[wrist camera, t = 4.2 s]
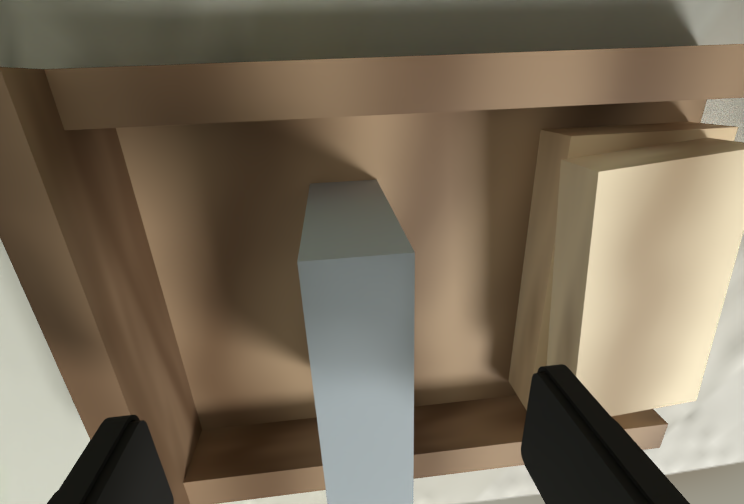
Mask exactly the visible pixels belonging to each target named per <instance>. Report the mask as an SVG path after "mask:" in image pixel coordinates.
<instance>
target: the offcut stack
mask: <svg viewBox="0 0 744 504" xmlns="http://www.w3.org/2000/svg"><path fill="white" fill-rule="evenodd" d="M737 129H738V127H733V126H724V125H714V124H705V123H696V122H675V123H657V124H638V125H619V126H600V127H582V128H563V129H544V130H541V131H540V139H539V146H538V154H537V162H536V170H535V178H534V185H533V193H532V201H531V209H530V217H529V224H528V232H527V240H526V248H525V255H524V263H523V271H522V279H521V287H520V294H519V302H518V310H517V318H516V326H515V333H514V341H513V349H512V357H511V365H510V372H509V380H508V381H509V383H510V384H511V386H512V387H513V389H514V391H515V392H516V394H517V396H518V397H519V399H520V401H521V402H522V404H523V405H524V407H525V409H526V410H527V405H528V399H529V393H530V386H531V380H532V376H533V374H534V373H537V372H538V369H539V368H540V367H542V366H550V365H559V364H563V365H566V366H567V367H568V368H569V369H570V370H571V371H572V373H573V374H574V375H575V376H576V377H577V378H578V379H579V381H580V382H581V383H582V384H583V385H584V386H585V387H586V389H587V390H588V391H589V392H590V393H591V394H592V395H593V396H594V398H595V399H596V400H597V401H598V402H599V403H600V404H601V406H602V407H603V408H604V409H605V410H606V411H607V412H608V414H609V415H610V416H616V415H622V414H627V413H633V412H638V411H643V410H649V409H654V408H660V407H665V406H671V405H676V404H681V403H687V402H692V401H696V400H697V397H698V393H699V390H700V386H701V382H702V379H703V375H704V372H705V368H706V364H707V361H708V357H709V354H710V350H711V347H712V343H713V339H714V336H715V332H716V329H717V325H718V321H719V318H720V314H721V311H722V307H723V304H724V300H725V296H726V293H727V289H728V286H729V282H730V278H731V275H732V271H733V268H734V264H735V260H736V257H737V253H738V250H739V246H740V243H741V239H742V235H743V232H744V143H743V142H736V141H734V139H735V136H736V133H737Z"/></svg>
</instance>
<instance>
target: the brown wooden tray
mask: <svg viewBox="0 0 744 504" xmlns="http://www.w3.org/2000/svg"><path fill="white" fill-rule="evenodd" d="M743 97H744V44H730V45H702V46H675V47H647V48H619V49H592V50H564V51H536V52H509V53H481V54H453V55H426V56H398V57H370V58H343V59H315V60H287V61H260V62H232V63H204V64H177V65H149V66H121V67H94V68H66V69H28V68H8V67H0V238H1V240H2V242H3V245H4V247H5V249H6V251H7V254H8V256H9V258H10V260H11V263H12V265H13V267H14V269H15V272H16V274H17V276H18V278H19V281H20V283H21V285H22V287H23V290H24V292H25V294H26V296H27V299H28V301H29V303H30V305H31V308H32V310H33V312H34V314H35V316H36V319H37V321H38V323H39V325H40V328H41V330H42V332H43V334H44V337H45V339H46V341H47V343H48V346H49V348H50V350H51V352H52V355H53V357H54V359H55V361H56V364H57V366H58V368H59V370H60V373H61V375H62V377H63V379H64V382H65V384H66V386H67V388H68V390H69V393H70V395H71V397H72V399H73V402H74V404H75V406H76V408H77V411H78V413H79V415H80V417H81V420H82V422H83V424H84V426H85V429H86V431H87V433H88V435H89V438H90V440H91V439H92V437H93V436H94V434H95V433H96V431H97V429H98V428H99V426H100V425H101V423H102V422H103V421H104V420H105V419H106V418H109V417H118V416H126V415H136V416H138V418H139V420H144V421H146V423H147V425H148V428H149V430H150V433H151V436H152V439H153V442H154V444H155V447H156V450H157V453H158V456H159V458H160V461H161V464H162V467H163V469H164V472H165V475H166V478H167V481H168V483H169V486H170V489H171V492H172V495H173V498H174V504H217V503H225V502H233V501H241V500H249V499H256V498H264V497H272V496H280V495H288V494H296V493H304V492H312V491H320V490H326V487H325V479H324V471H323V463H322V455H321V447H320V439H319V431H318V423H317V415H316V408H315V400H314V392H313V384H312V376H311V368H310V360H309V352H308V344H307V336H306V328H305V320H304V312H303V304H302V296H301V288H300V280H299V272H298V264H297V260H298V254H299V248H300V242H301V236H302V230H303V223H304V217H305V211H306V205H307V199H308V193H309V187H310V184H312V183H328V182H344V181H361V180H377V181H378V183H379V185H380V187H381V189H382V191H383V193H384V194H385V196H386V198H387V200H388V202H389V204H390V206H391V208H392V210H393V212H394V214H395V216H396V217H397V219H398V221H399V223H400V225H401V227H402V229H403V231H404V233H405V235H406V237H407V239H408V240H409V242H410V244H411V246H412V248H413V250H414V252H415V311H414V469H413V479H415V478H423V477H431V476H439V475H446V474H454V473H462V472H470V471H478V470H486V469H494V468H502V467H510V466H518V465H525V464H524V462H523V459H522V456H521V443H522V437H523V431H524V424H525V418H526V412H527V410H526V409H525V407H524V405H523V404H522V402H521V401H520V399H519V397H518V396H517V394H516V392H515V391H514V389H513V387H512V386H511V384H510V383H509V381H508V380H509V372H510V365H511V357H512V349H513V341H514V333H515V326H516V318H517V310H518V302H519V294H520V287H521V279H522V271H523V263H524V255H525V248H526V240H527V232H528V224H529V217H530V209H531V201H532V193H533V185H534V178H535V170H536V162H537V154H538V146H539V139H540V131H541V130H544V129H563V128H582V127H600V126H619V125H638V124H657V123H675V122H696V123H700V122H701V118H702V115H703V111H704V108H705V104H706V101H707V99H722V98H743ZM611 417H612V418H614V419H615V420H616V421H617V422H618V423H619V424H620V425H621V426H622V428H623V429H624V430H625V431H626V432H627V433H628V434H629V435H630V437H631V438H632V439H633V440H634V441H635V442H636V443H637V445H638V446H639V447H640V448H641V449H642V450H644V449H652V448H660V445H661V443H662V440H663V437H664V434H665V431H666V429H667V426H668V423H667V422H666V421H665V420H664V419H663V418H662V417H661V416H660V415H659V414H657V413H656V412H655V411H654V410H653V409H649V410H643V411H638V412H633V413H627V414H622V415H616V416H611Z"/></svg>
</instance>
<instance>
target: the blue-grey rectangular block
mask: <svg viewBox="0 0 744 504" xmlns="http://www.w3.org/2000/svg"><path fill="white" fill-rule="evenodd" d="M297 264H298V272H299V280H300V288H301V296H302V304H303V312H304V320H305V328H306V336H307V344H308V352H309V360H310V368H311V376H312V384H313V392H314V400H315V408H316V415H317V423H318V431H319V439H320V447H321V455H322V463H323V471H324V479H325V487H326V495H327V503H328V504H413V469H414V311H415V252H414V250H413V248H412V246H411V244H410V242H409V240H408V239H407V237H406V235H405V233H404V231H403V229H402V227H401V225H400V223H399V221H398V219H397V217H396V216H395V214H394V212H393V210H392V208H391V206H390V204H389V202H388V200H387V198H386V196H385V194H384V193H383V191H382V189H381V187H380V185H379V183H378V181H377V180H361V181H344V182H328V183H312V184H310V187H309V193H308V199H307V205H306V211H305V217H304V223H303V230H302V236H301V242H300V248H299V254H298V260H297Z"/></svg>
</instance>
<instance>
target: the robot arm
mask: <svg viewBox="0 0 744 504" xmlns="http://www.w3.org/2000/svg"><path fill="white" fill-rule="evenodd" d="M521 456H522V459H523V462H524V464H525V466H526V468H527V470H528V472H529V474H530V476H531V477H532V479H533V481H534V483H535V485H536V487H537V489H538V490H539V492H540V494H541V496H542V498H543V500H544V502H545V503H546V504H690V503H689V502H688V501H687V500H686V499H685V498H684V497H683V496H682V494H681V493H680V492H679V491H678V490H677V489H676V488H675V486H674V485H673V484H672V483H671V482H670V481H669V480H668V479H667V477H666V476H665V475H664V474H663V473H662V472H661V471H660V469H659V468H658V467H657V466H656V465H655V464H654V463H653V462H652V460H651V459H650V458H649V457H648V456H647V455H646V454H645V452H644V451H643V450H642V449H641V448H640V447H639V446H638V445H637V443H636V442H635V441H634V440H633V439H632V438H631V437H630V435H629V434H628V433H627V432H626V431H625V430H624V429H623V428H622V426H621V425H620V424H619V423H618V422H617V421H616V420H615V419H614V418H612V417H611V416H610V415H609V414H608V412H607V411H606V410H605V409H604V408H603V407H602V406H601V404H600V403H599V402H598V401H597V400H596V399H595V398H594V396H593V395H592V394H591V393H590V392H589V391H588V390H587V389H586V387H585V386H584V385H583V384H582V383H581V382H580V381H579V379H578V378H577V377H576V376H575V375H574V374H573V373H572V371H571V370H570V369H569V368H568V367H567V366H566V365H563V364H559V365H550V366H542V367H540V368H539V369H538V372H537V373H534V374H533V376H532V380H531V386H530V393H529V399H528V405H527V412H526V418H525V424H524V431H523V437H522V443H521ZM47 504H174V498H173V495H172V492H171V489H170V486H169V483H168V481H167V478H166V475H165V472H164V469H163V467H162V464H161V461H160V458H159V456H158V453H157V450H156V447H155V444H154V442H153V439H152V436H151V433H150V430H149V428H148V425H147V423H146V421H144V420H139V418H138V416H136V415H126V416H118V417H109V418H106V419H105V420H104V421H103V422H102V423H101V425H100V426H99V428H98V429H97V431H96V433H95V434H94V436H93V437H92V439H91V440H90V442H89V443H88V445H87V447H86V448H85V450H84V451H83V453H82V454H81V456H80V458H79V459H78V461H77V462H76V464H75V465H74V467H73V468H72V470H71V472H70V473H69V475H68V476H67V478H66V479H65V481H64V482H63V484H62V486H61V487H60V489H59V490H58V491H57V492H56V493H55V494H54V495H53V496H52V498H51V499H50V500H49V501H48V503H47Z"/></svg>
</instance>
